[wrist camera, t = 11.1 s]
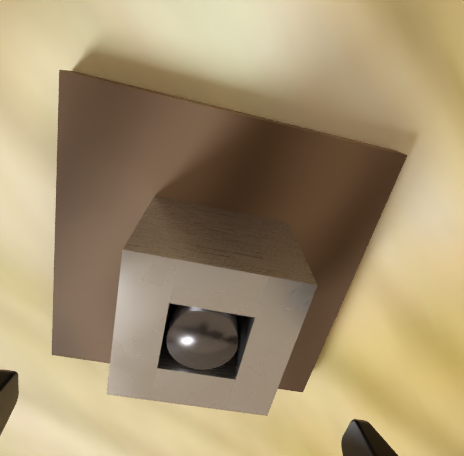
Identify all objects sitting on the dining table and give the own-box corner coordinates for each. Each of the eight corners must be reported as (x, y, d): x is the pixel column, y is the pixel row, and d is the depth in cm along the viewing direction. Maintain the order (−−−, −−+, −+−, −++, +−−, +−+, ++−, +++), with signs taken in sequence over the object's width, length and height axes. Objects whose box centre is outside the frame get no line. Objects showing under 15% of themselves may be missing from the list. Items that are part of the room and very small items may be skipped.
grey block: (288, 222, 15) (317, 285, 10) (255, 327, 17) (267, 415, 13) (154, 195, 14) (122, 249, 10) (138, 308, 17) (106, 394, 12)
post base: (395, 150, 15) (498, 191, 9) (299, 378, 20) (327, 488, 15) (70, 70, 13) (-38, 63, 8) (60, 341, 19) (-8, 450, 13)
